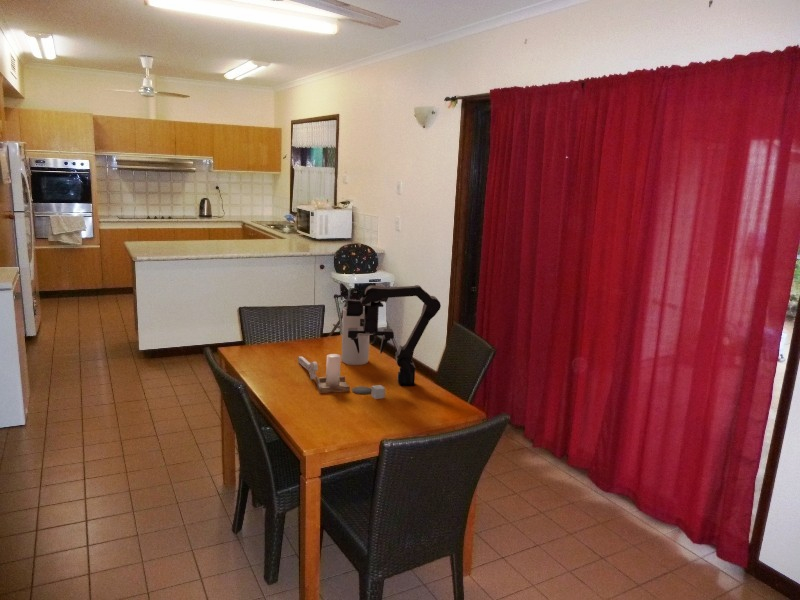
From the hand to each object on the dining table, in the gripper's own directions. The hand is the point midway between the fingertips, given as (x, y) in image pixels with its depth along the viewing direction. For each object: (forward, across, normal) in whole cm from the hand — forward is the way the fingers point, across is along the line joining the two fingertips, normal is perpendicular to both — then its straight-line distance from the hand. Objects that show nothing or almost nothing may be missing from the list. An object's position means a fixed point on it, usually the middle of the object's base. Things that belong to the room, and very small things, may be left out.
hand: (369, 353), depth 239 cm
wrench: (+13, +26, -12) cm, 32 cm away
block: (+13, -3, +15) cm, 20 cm away
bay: (+13, +15, +5) cm, 20 cm away
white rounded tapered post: (+12, +15, +5) cm, 20 cm away
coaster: (+13, +3, +9) cm, 16 cm away
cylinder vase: (+13, +5, -28) cm, 31 cm away
